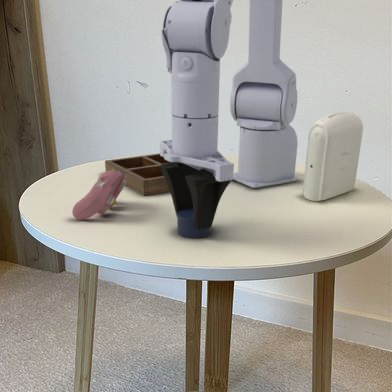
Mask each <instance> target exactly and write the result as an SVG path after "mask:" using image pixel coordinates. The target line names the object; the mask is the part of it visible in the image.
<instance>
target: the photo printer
mask: <svg viewBox="0 0 392 392" xmlns="http://www.w3.org/2000/svg"><path fill="white" fill-rule="evenodd" d="M363 125H364V124H363V121H362V119H361V118H360V116H358V115H356V114H354V113H351V112H347V111H346V112H345V111H337V112H333V113H332V112H331V113H329V114H327V115H325V116H323V117H321V118H319V119H318V120H317V121H316V122H314V123H313V124H312V126H311V127H310V128H309V130H308V131H309V132H308V135H307V146H306V155H305V167H304V174H303V175H304V176H303V184H302V195H303V197H304V198H305V199H306V200H309V201H313V202H320V201H324V200H328V199H331V198H334V197H337V196H340V195H343V194H345V193H348V192H351V191H353V190H354V189H355V185H356V179H357V173H358V172H357V171H358V166H359V160H360V159H359V158H360V152H361V145H362V138H363V131H364V126H363Z"/></svg>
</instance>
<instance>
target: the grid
mask: <svg viewBox="0 0 392 392" xmlns="http://www.w3.org/2000/svg"><path fill="white" fill-rule="evenodd" d="M167 163H169V161H167V160H165V159H164V157H162V156H160V152H159V153H151V154H145V155H135V156H128V157H121V158H114V159H113V158H112V159H107V160H104V167H105V172H106V171H112V170H113V169H114V170H115V171H116V172H118V171H119V172H122V173H124V175H126V176H127V181H126V183H125V186H126V187H127V188H129V189H131V190H133V191H135V192H137V193H138V194H140V195H142V196H144V197H145V196H151V195H157V194H163V193H168V192H170V189H169V186H168V184H167V182H166V179H165V177H164V175H163V174H162V172H161V170H160V165H162V164H167ZM170 193H171V192H170Z"/></svg>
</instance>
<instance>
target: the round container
mask: <svg viewBox="0 0 392 392" xmlns="http://www.w3.org/2000/svg"><path fill="white" fill-rule="evenodd" d="M177 234H178V235H179V236H181V237H184V238H187V239H188V238H189V239H199V238H200V239H201V238H205V237H207V236H210V234H211V228H206V229H201V230H198V229H196V226H195V221H194V209H184V210H181V211H179V212H178V218H177Z"/></svg>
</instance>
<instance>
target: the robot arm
mask: <svg viewBox="0 0 392 392" xmlns="http://www.w3.org/2000/svg"><path fill="white" fill-rule="evenodd" d="M233 2H234V0H176V1H175V2H173V3H172V5H169V6H168V7H167V9H166V10H165V12H164V14H163V15H164V16H163V20H162V28H161V31H160V32H161V42H162V47H163V50H164V52H165V57H166V68H167V72H168V73H170V74H171V75H170V76H171V78H170V79H171V82H170V83H171V139H168V140H160V141H159V153H160V156H162V157H164V159H165V160H167V161H169V163H167V164H162V165H160V170H161V172H162V174H163V175H164V177H165V179H166V182H167V184H168V186H169V189H170V197H171V199H172V204H173V208H174V212H175V215H176V218H177V219H178V212H179V211H181V210H184V209H194V221H195V226H196V229H198V230H201V229H206V228H210V229H211V228H212V226H213V224H214V220H215V216H216V213H217V210H218V207H219V205H220V204H219V203H220V201H221V199H222V196H223V195H224V193H225V190H226V189H227V187H228V186H229V184H230V183H231V181H233V180H234V182H235V181H236V182H238V183H240V184H243V185H244V186H247V187H250V188H252V189H258V188H263V187H269V186H275V185H280V184H286V183H287V184H288V183H292V182H297V181H298V177H297V176H296V175H295V174H296V165H297V154H298V153H297V152H298V136H297V135H298V134H297V132H296V130H295V129H294V127H293V126H292V125H291V123H292V122H293V121H294V119H295V116H296V112H297V105H298V90H297V74H296V72H295V71H294V70H292V69H291V68H290V67H289V66H288V65H287V64H286V63H285V62H284V61H282V59H281V58H280V57H281V37H282V17H283V0H249V10H248V11H249V14H248V55H247V56H248V58H247V59H248V60H247V62H246V63H245V64H243V65H242V66H241V67H239V68H238V69H237V70H236V72H235V73H234V75H233V77H232V86H231V92H230V96H229V113H230V115H231V117H232V119H233V121H235V122H236V127H239V140H238V141H239V144H238V160H237V161H238V162H237V164H238V165H237V172H234V171H235V170H234V169H235V163H234V162H231V161H229V160H228V159H227V158H226V157H225V156H224V155H223V154H222V153H221V152H220V151H219V150H218V146H219V145H218V144H219V143H218V142H219V141H218V140H219V112H220V111H219V110H220V108H219V106H220V79H221V78H220V77H221V76H220V75H221V59H222V58H223V57H224V55H225V54H226V51H227V49H228V47H229V41H230V32H231V31H230V30H231V23H232V18H233V16H232V15H233V14H232V11H231V8H232V5H233Z"/></svg>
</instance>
